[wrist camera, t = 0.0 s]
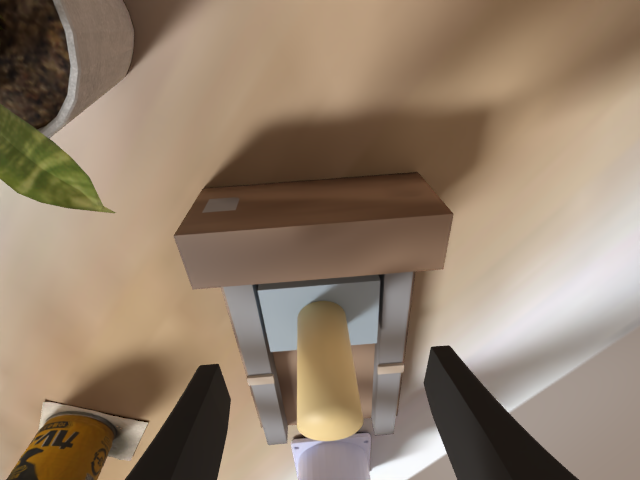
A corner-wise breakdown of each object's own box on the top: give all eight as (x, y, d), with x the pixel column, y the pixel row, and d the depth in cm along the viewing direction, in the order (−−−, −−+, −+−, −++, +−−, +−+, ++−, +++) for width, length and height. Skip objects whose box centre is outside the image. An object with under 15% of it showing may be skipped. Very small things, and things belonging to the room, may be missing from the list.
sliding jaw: (370, 319, 22) (403, 446, 15) (272, 327, 22) (261, 459, 15) (373, 259, 19) (413, 381, 12) (261, 267, 19) (240, 396, 12)
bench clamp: (393, 399, 30) (408, 459, 26) (263, 410, 30) (257, 472, 26) (417, 172, 18) (453, 213, 14) (202, 188, 18) (173, 235, 14)
